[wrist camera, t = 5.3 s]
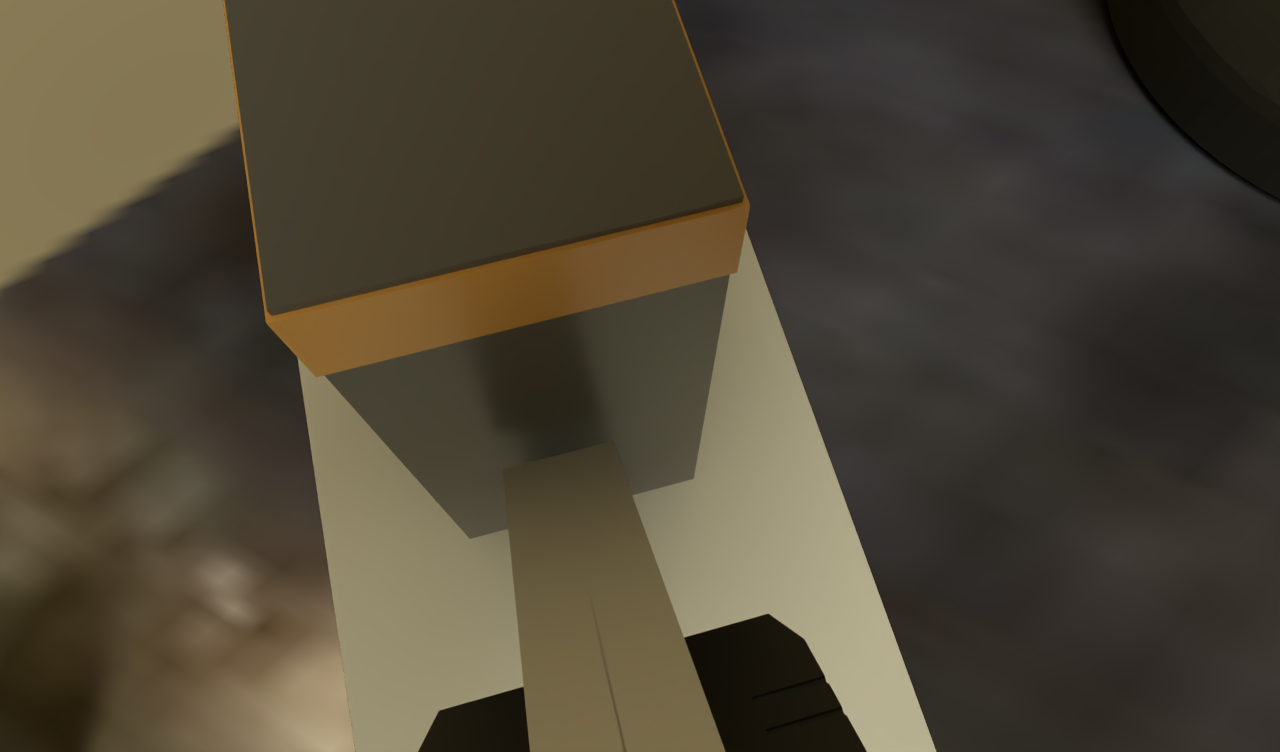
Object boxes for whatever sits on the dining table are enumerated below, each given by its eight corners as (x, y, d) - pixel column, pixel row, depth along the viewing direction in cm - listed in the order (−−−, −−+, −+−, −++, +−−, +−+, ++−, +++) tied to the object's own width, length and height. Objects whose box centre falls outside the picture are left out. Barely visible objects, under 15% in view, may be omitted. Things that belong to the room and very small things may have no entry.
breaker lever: (635, 279, 18) (624, -141, 9) (697, 480, 16) (750, 199, 8) (424, 332, 17) (211, -57, 9) (467, 542, 16) (261, 318, 7)
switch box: (704, 244, 23) (716, 142, 19) (998, 1100, 16) (1107, 1213, 12) (343, 332, 22) (279, 245, 18) (502, 1271, 15) (454, 1449, 12)
